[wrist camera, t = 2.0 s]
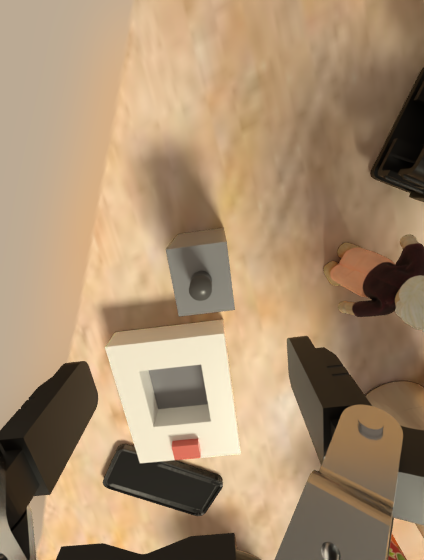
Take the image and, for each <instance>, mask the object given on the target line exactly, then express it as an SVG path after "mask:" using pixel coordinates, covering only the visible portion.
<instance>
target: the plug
mask: <svg viewBox="0 0 424 560" xmlns="http://www.w3.org/2000/svg"><path fill="white" fill-rule="evenodd" d="M166 253H167V258H168V263H169V268H170V274H171V279H172V284H173V289H174V294H175V299H176V305H177V310H178V315H179V316H188V315H196V314H204V313H213V312H221V311H230V310H235V307H234V299H233V290H232V282H231V274H230V265H229V257H228V249H227V241H226V236H225V231H224V228H218V229H211V230H203V231H196V232H189V233H181V234H177V236H176V237H175V238H174V240H173V241H172V242H171V244H170V245H169V246H168V247H167V249H166Z"/></svg>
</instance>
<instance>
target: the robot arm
mask: <svg viewBox="0 0 424 560" xmlns="http://www.w3.org/2000/svg"><path fill="white" fill-rule="evenodd" d="M287 353H288V370H289V378H290V383H291V387H292V390H293V392H294V395H295V398H296V400H297V403H298V405H299V408H300V411H301V413H302V416H303V418H304V421H305V424H306V426H307V429H308V431H309V434H310V437H311V439H312V442H313V445H314V447H315V450H316V452H317V455H318V458H319V460H320V463H321V465H322V466H321V468H320V470H319V471H316V470H314V471H312V473H311V474H310V476H309V478H308V480H307V483H306V485H305V487H304V490H303V492H302V495H301V497H300V499H299V502H298V504H297V507H296V509H295V512H294V514H293V516H292V519H291V521H290V524H289V526H288V528H287V531H286V533H285V536H284V538H283V541H282V543H281V545H280V548H279V550H278V553H277V555H276V557H275V560H388V557H389V550H390V543H391V535H392V528H393V520H394V518H397V519H401V520H405V521H409V522H412V523H415V524H416V526H417V528H418V529H419V531H420V533H421V534H422V536H423V538H424V387H423V386H421V385H419V384H416V383H413V382H407V381H398V382H391V383H387V384H384V385H382V386H379V387H377V388H376V389H374V390H372V391H371V392H369V393H368V394H367V395H366V396H365V395H364V394H363V392H362V391H361V390H360V388H359V387H358V385H357V384H356V383H355V381H354V380H353V378H352V377H351V376H350V375H349V374H348V371H347V370H346V369H345V367H344V366H343V364H342V363H341V362H340V360H339V359H338V357H337V356H336V355H335V354H334V353H332V352H330V351H329V350H327V349H326V348H324V347H323V348H315V347H314V345H313V344H312V342H311V340H310V339H309V337H308V336H301V337H293V338H288V339H287ZM97 403H98V393H97V389H96V386H95V383H94V380H93V377H92V374H91V371H90V368H89V366H88V364H87V362H85V361H80V362H72V363H65V364H63V365H62V366H61V367H60V369H59V370H58V371H57V372H56V373H55V375H54V376H53V377H52V378H50V379H49V380H48V381H46V382H45V383H43V384H42V385H41V386H39V387H38V388H37V389H36V390H35V391H34V393H33V394H32V395H31V396H30V397H29V400H27V401H26V402H25V403H24V404H23V405H22V407H21V409H19V410H18V411H17V412H16V413H15V414H14V416H13V417H12V418H11V419H10V420H9V421H8V422H7V423H6V425H5V426H4V427H3V428H2V429H1V430H0V560H36V551H35V542H34V530H33V519H32V511H31V508H30V506H29V503H30V501H31V500H32V498H33V496H39V495H50V494H51V492H52V490H53V488H54V487H55V485H56V483H57V481H58V479H59V477H60V475H61V473H62V472H63V470H64V468H65V466H66V464H67V462H68V460H69V458H70V457H71V455H72V453H73V451H74V449H75V447H76V445H77V443H78V441H79V440H80V438H81V436H82V434H83V432H84V430H85V428H86V426H87V425H88V423H89V421H90V419H91V417H92V415H93V413H94V411H95V410H96V407H97ZM56 560H261V559H259V558H258V557H256V556H254V555H251V554H249V553H247V552H244V551H240V550H237V545H236V539H235V534H234V533H228V534H215V535H202V536H191V537H188V538H186V539H183V540H181V541H178V542H176V543H173V544H171V545H168V546H166V547H163V548H160V549H158V550H155V551H153V552H150V553H148V554H138V553H134V552H131V551H127V550H124V549H120V548H117V547H114V546H110V545H107V544H103V543H102V544H89V545H76V546H64V547H61V549H60V551H59V554H58V556H57V559H56Z"/></svg>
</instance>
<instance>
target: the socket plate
mask: <svg viewBox="0 0 424 560" xmlns="http://www.w3.org/2000/svg"><path fill="white" fill-rule="evenodd" d="M105 349H106V352H107V356H108V359H109V362H110V366H111V369H112V372H113V376H114V379H115V382H116V386H117V389H118V392H119V396H120V399H121V402H122V406H123V409H124V412H125V416H126V419H127V422H128V426H129V429H130V432H131V436H132V439H133V442H134V446H135V449H136V452H137V456H138V459H139V462H140V463H149V462H160V461H171V460H182V459H193V458H204V457H215V456H227V455H238V454H241V452H240V442H239V432H238V424H237V417H236V410H235V402H234V395H233V388H232V380H231V373H230V366H229V358H228V351H227V344H226V336H225V329H224V322H223V320H214V321H206V322H197V323H189V324H180V325H172V326H163V327H155V328H146V329H138V330H129V331H121V332H115V333H114V335H113V336H112V338H111V339H110V341H109V342H108V343H107V345H106V346H105Z"/></svg>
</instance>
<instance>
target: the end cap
mask: <svg viewBox="0 0 424 560" xmlns="http://www.w3.org/2000/svg"><path fill="white" fill-rule="evenodd" d="M371 177H372V178H374V179H376V180H378V181H381V182H383V183H386V184H388V185H391V186H393V187H396V188H399V189H401V190H404V191H406V192H409V193H410V195H409V197H411V198H413V199H416V200H419V201H422V202H424V68H423V69H422V70H421V72H420V74H419V76H418V78H417V80H416V82H415V84H414V86H413V88H412V90H411V92H410V94H409V96H408V98H407V100H406V102H405V104H404V106H403V108H402V110H401V112H400V114H399V116H398V118H397V120H396V122H395V124H394V126H393V128H392V130H391V132H390V134H389V136H388V138H387V140H386V142H385V144H384V146H383V148H382V150H381V152H380V154H379V156H378V158H377V160H376V162H375V164H374V166H373V168H372V170H371Z"/></svg>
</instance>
